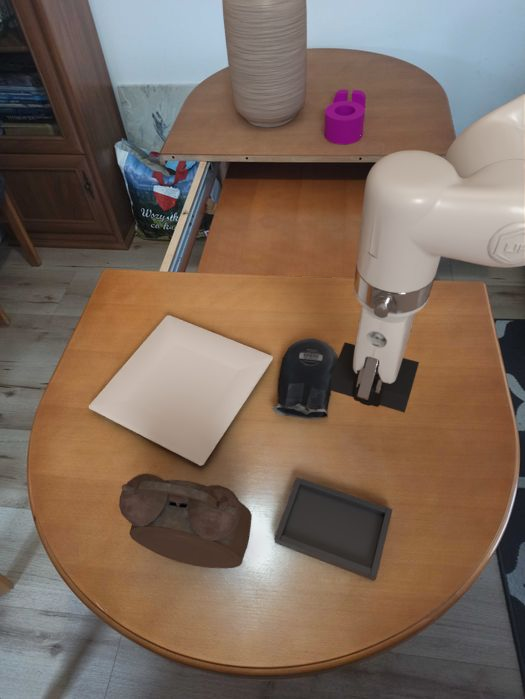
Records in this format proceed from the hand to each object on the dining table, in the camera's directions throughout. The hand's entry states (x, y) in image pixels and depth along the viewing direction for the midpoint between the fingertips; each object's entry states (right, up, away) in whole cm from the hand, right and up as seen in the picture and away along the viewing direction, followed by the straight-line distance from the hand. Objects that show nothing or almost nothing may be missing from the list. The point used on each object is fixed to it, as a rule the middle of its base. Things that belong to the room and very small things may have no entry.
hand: (373, 381), depth 63 cm
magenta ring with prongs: (+8, +63, +68) cm, 93 cm away
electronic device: (-7, -1, +20) cm, 21 cm away
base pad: (-4, -20, +4) cm, 21 cm away
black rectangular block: (0, 0, +1) cm, 1 cm away
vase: (-12, +70, +76) cm, 103 cm away
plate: (-27, -2, +21) cm, 34 cm away
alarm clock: (-22, -22, +5) cm, 32 cm away
